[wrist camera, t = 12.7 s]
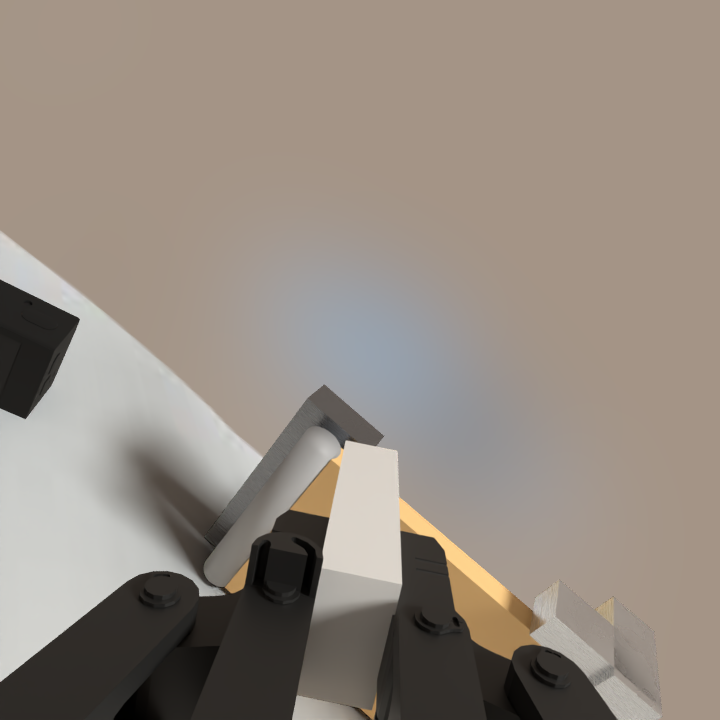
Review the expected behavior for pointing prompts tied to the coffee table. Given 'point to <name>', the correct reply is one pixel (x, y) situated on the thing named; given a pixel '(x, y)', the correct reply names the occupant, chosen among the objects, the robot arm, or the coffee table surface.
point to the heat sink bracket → (551, 608)
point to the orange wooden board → (468, 580)
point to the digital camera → (30, 347)
